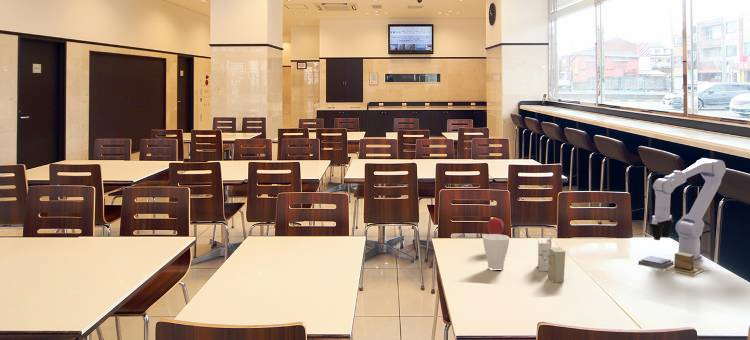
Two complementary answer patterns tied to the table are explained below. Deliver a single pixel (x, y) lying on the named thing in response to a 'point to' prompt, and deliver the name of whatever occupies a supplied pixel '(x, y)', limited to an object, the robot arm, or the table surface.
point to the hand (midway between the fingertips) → (661, 238)
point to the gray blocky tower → (543, 253)
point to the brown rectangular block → (684, 261)
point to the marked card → (692, 272)
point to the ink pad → (656, 262)
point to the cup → (496, 249)
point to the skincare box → (556, 264)
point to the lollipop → (495, 226)
